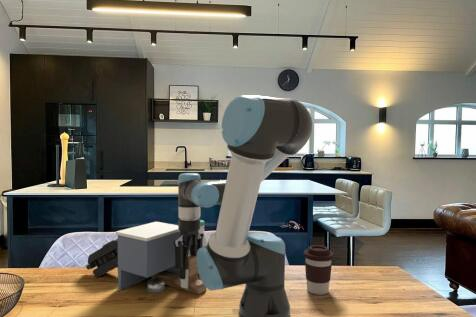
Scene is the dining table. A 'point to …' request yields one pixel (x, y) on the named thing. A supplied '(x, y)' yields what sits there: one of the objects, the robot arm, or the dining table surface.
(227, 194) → the robot arm
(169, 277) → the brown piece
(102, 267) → the tool
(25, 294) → the dining table surface
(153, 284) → the puck
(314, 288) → the coffee cup
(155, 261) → the cabinet
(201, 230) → the milk bottle
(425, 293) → the dining table surface
